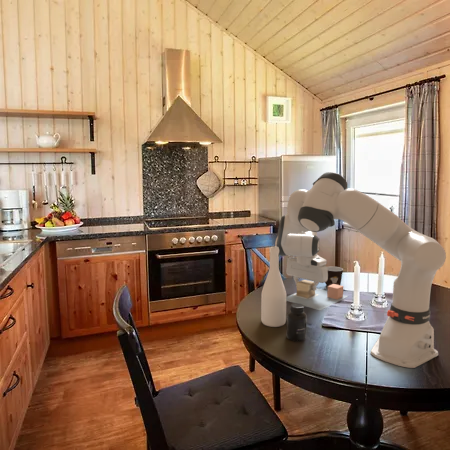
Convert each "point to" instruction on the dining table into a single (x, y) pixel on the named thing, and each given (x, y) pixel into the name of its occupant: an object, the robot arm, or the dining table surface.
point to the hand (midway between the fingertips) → (305, 288)
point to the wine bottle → (273, 294)
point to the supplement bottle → (296, 323)
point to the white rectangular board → (314, 300)
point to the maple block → (305, 288)
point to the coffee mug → (334, 275)
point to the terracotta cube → (335, 291)
